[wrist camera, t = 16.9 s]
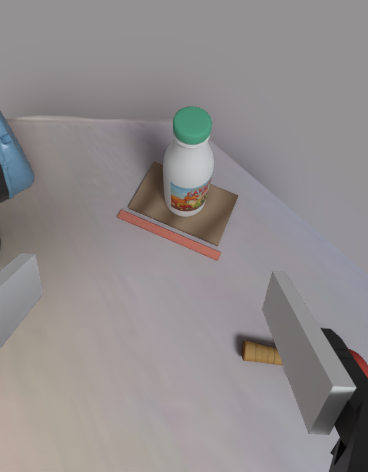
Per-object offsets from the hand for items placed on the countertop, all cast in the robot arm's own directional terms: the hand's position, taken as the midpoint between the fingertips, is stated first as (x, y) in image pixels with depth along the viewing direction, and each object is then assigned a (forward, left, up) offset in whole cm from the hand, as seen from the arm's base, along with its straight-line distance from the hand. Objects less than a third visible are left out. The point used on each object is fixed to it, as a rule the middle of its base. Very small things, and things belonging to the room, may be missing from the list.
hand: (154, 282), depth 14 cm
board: (-5, +19, -30) cm, 36 cm away
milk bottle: (-5, +20, -29) cm, 36 cm away
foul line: (-5, +12, -30) cm, 32 cm away
